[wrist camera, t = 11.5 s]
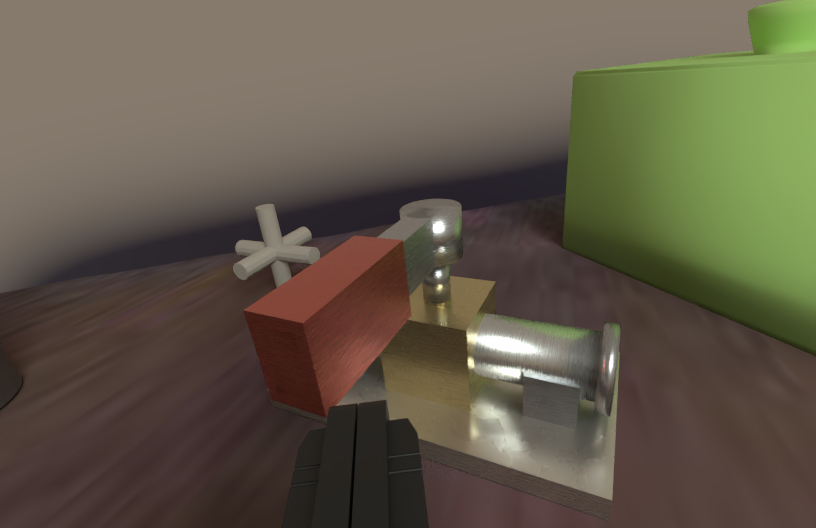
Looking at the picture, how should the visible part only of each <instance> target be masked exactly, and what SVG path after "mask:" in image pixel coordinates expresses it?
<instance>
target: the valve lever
mask: <svg viewBox="0 0 816 528" xmlns="http://www.w3.org/2000/svg"><path fill="white" fill-rule="evenodd" d="M400 219H401V220H400V221H399V222H397V223H396V224H395V225H393V226H392V227H390V228H389V229H388V230H386V231H385V232H384V233H382V234H381V235H380V236H378V237H377V238H374V237H363V236H353V237H352V238H350V239H349V240H347V241H346V242H345V243H343V244H342V245H340V246H339V247H337V248H336V249H334V250H333V251H331V252H330V253H328V254H327V255H325V256H324V257H322V258H321V259H319V260H318V261H316V262H315V263H313V264H312V265H310V266H309V267H307V268H306V269H304V270H303V271H301V272H300V273H298V274H297V275H295V276H294V277H292V278H291V279H289V280H288V281H286V282H285V283H283V284H282V285H281V286H279V287H278V288H276V289H275V290H273V291H272V292H270V293H269V294H267V295H266V296H264V297H263V298H261V299H260V300H258V301H257V302H255V303H254V304H252V305H251V306H249V307H248V308H246V309H245V310H244V313H245V317H246V320H247V323H248V326H249V329H250V333H251V336H252V339H253V342H254V345H255V348H256V352H257V355H258V358H259V361H260V364H261V368H262V371H263V374H264V377H265V380H266V383H267V387H268V390H269V393H270V396H271V399H272V400H274V401H277V402H280V403H283V404H286V405H289V406H292V407H295V408H298V409H301V410H304V411H307V412H310V413H313V414H316V415H319V416H322V417H325V418H327V416H328V410H329V407H331V406H337V404H338V403H339V402H340V401H341V400H342V398H343V397H344V396H345V395H346V394H347V392H348V391H349V390H350V389H351V388H352V386H353V385H354V384H355V383H356V382H357V380H358V379H359V378H360V377H361V376H362V374H363V373H364V372H365V371H366V370H367V368H368V367H369V366H370V365H371V364H372V362H373V361H374V360H375V359H376V358H377V356H378V355H379V354H380V353H381V352H382V350H383V349H384V348H385V347H386V346H387V344H388V343H389V342H390V341H391V340H392V338H393V337H394V336H395V335H396V334H397V332H398V331H399V330H400V329H401V328H402V326H403V325H404V324H405V323H406V322H407V320H408V319H409V318H410V317H411V307H410V298H409V296H410V295H411V294H412V293H413V292H414V291H415V290H416V289H417V287H418V286H419V285H420V284H421V283H422V282H423V281H424V280H425V279H426V278H427V276H428V275H429V274H430V273H431V272H432V271H433V270H434V269H435V268H436V267H442V266H446V265H450V264H453V263H455V262H457V261H458V260H460V259H461V258H462V256H463V235H462V214H461V204H460V203H458V202H456V201H453V200H447V199H427V200H421V201H416V202H413V203H409V204H407V205H405V206H403V207H402V208H401V209H400Z"/></svg>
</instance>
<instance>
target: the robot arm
mask: <svg viewBox="0 0 816 528" xmlns="http://www.w3.org/2000/svg"><path fill="white" fill-rule="evenodd" d="M21 385H22V378H21V376H20V375H19V373H18V371H17V370H16V368H15V366H14V365H13V363H12V362H11V360H10V358H9V357H8V355H7V354H6V352H5V350H4V349H3V347H2V345H1V344H0V408H2V407H3V406H4V405H5V404H6V403H7V402H8V401H9V400H11V399H12V398H13V396H14V395H15V394H16V393H17V392H18V390H19V389H20V387H21ZM282 528H429V525H428V517H427V508H426V499H425V490H424V482H423V473H422V465H421V457H420V449H419V441H418V433H417V431H416V430H415V428H414V427H413V425H412V424H411V422H410V421H409V419H408V418H404V419H396V420H390V418H389V411H388V405H387V400H380V401H372V402H364V403H359V406H358V403H355V404H347V405H339V406H331V407H329V410H328V416H327V423H326V428H324V429H317V430H310V432H309V433H308V435H307V436H306V438H305V439H304V441H303V442H302V444H301V445H300V447H299V449H298V454H297V459H296V464H295V471H294V473H293V478H292V483H291V488H290V492H289V497H288V501H287V506H286V511H285V516H284V520H283V525H282Z"/></svg>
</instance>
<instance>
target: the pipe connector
mask: <svg viewBox="0 0 816 528" xmlns="http://www.w3.org/2000/svg"><path fill="white" fill-rule="evenodd" d="M255 209H256V213H257V216H258V220H259V224H260V228H261V231H262V235H263V239H264V242H257V241H247V240H240V241H239V242H238V243H237V244H236V247H235V248H236V253H237V254H238V255H239V256H243V257H246V258H244V259H242V260H241V261H239V262H237V263H235V264H234V266H233V270H234V272H235V274H236V276H237V277H238V278H239V279H242V280H246V279H248V278H249V277H251V276H252V275H254V274H256V273H257V272H259V271H261V270H262V269H264V268H266V267H267V266H269V265H271V269H272V273H273V276H274V280H275V284H276V288H278V287H279V286H281V285H282V284H283V283H285V282H286V281H288V280H289V279H291V278H292V277H291V273H290V268H289V264H288V262H291V263H298V264H306V265H312V264H313V263H315V262H316V261H318V260H319V258H320V253H319V250H318V249H317V248H315V247H306V246H302V245H303V244H305V243H306V242H308V241H310V239H311V233H310V231H309V230H308V229H307V228H305V227H300V228H299V229H297V230H295V231H293V232H291V233H290V234H288V235H286V236H284V237H282V236H281V232H280V228H279V224H278V220H277V216H276V212H275V208H274V205H273V204H265V205H261V206H258V207H256V208H255Z"/></svg>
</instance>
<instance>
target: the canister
mask: <svg viewBox="0 0 816 528" xmlns="http://www.w3.org/2000/svg"><path fill="white" fill-rule="evenodd" d="M748 23H749V29H750V34H751V39H752V44H753V50H754V51H743V52H731V53H719V54H709V55H702V56H693V57H686V58H678V59H670V60H663V61H656V62H647V63H640V64H633V65H624V66H617V67H609V68H602V69H594V70H586V71H578V72H576V74H575V75H574V77H573V90H572V106H571V121H570V137H569V154H568V170H567V184H566V200H565V216H564V232H563V247H562V248H564V249H566V250H569V251H571V252H573V253H576V254H578V255H580V256H583V257H585V258H587V259H590V260H592V261H594V262H597V263H599V264H601V265H604V266H606V267H608V268H611V269H613V270H615V271H618V272H620V273H622V274H625V275H627V276H629V277H632V278H634V279H636V280H639V281H641V282H643V283H646V284H648V285H650V286H653V287H655V288H657V289H660V290H662V291H664V292H667V293H669V294H672V295H674V296H676V297H679V298H681V299H683V300H686V301H688V302H690V303H693V304H695V305H697V306H700V307H702V308H704V309H707V310H709V311H711V312H714V313H716V314H718V315H721V316H723V317H725V318H728V319H730V320H732V321H735V322H737V323H739V324H742V325H744V326H746V327H749V328H751V329H754V330H756V331H758V332H761V333H763V334H765V335H768V336H770V337H772V338H775V339H777V340H779V341H782V342H784V343H786V344H789V345H791V346H793V347H796V348H798V349H800V350H803V351H805V352H807V353H810V354H812V355H814V356H816V0H783V1H778V2H773V3H769V4H765V5H761V6H757V7H755V8H753V9H752V10H750V11H748Z"/></svg>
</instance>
